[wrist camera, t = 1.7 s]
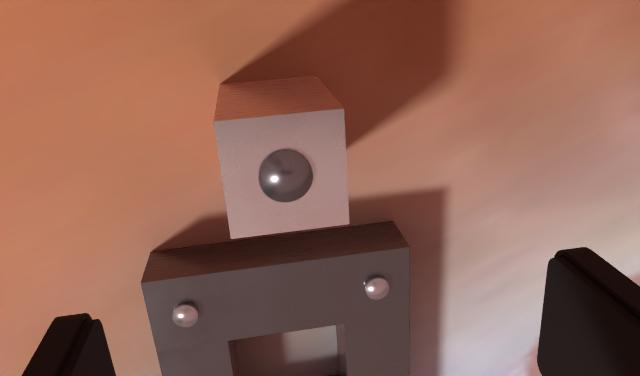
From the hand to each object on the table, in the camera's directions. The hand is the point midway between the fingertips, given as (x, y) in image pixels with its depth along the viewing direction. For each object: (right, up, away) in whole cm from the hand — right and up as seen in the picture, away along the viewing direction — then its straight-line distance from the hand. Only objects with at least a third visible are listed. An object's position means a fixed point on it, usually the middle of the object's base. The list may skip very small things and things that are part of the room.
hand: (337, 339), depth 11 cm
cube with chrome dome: (-3, +6, +15) cm, 16 cm away
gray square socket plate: (-2, -6, +20) cm, 21 cm away
